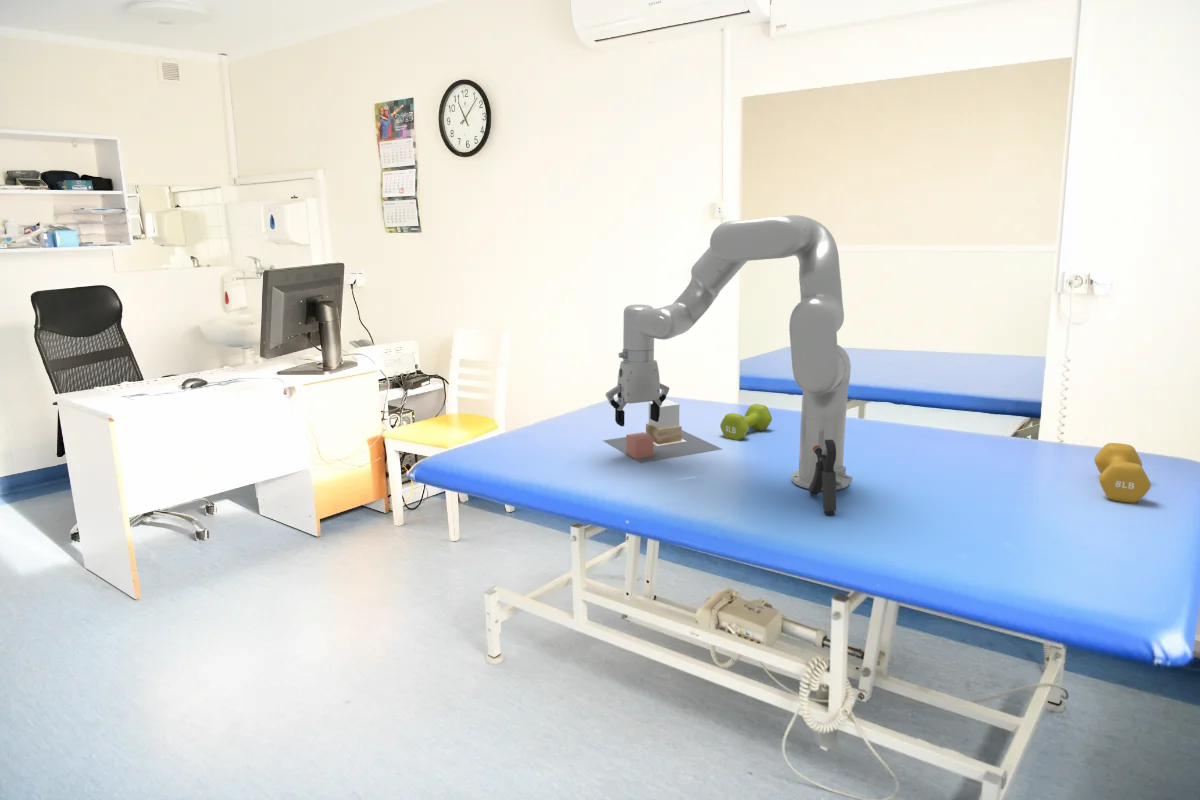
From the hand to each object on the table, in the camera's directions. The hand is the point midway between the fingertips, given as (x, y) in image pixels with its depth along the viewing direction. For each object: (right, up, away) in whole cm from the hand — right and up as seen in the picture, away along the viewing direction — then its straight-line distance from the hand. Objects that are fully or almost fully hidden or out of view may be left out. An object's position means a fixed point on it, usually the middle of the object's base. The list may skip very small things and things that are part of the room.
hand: (637, 422), depth 195 cm
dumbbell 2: (+103, -14, -27) cm, 107 cm away
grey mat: (+7, -6, +10) cm, 14 cm away
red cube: (+1, -8, +2) cm, 8 cm away
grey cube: (+8, -1, +14) cm, 16 cm away
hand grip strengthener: (+37, -16, -32) cm, 52 cm away
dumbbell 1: (+31, -4, +19) cm, 37 cm away
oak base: (+8, -5, +14) cm, 17 cm away
